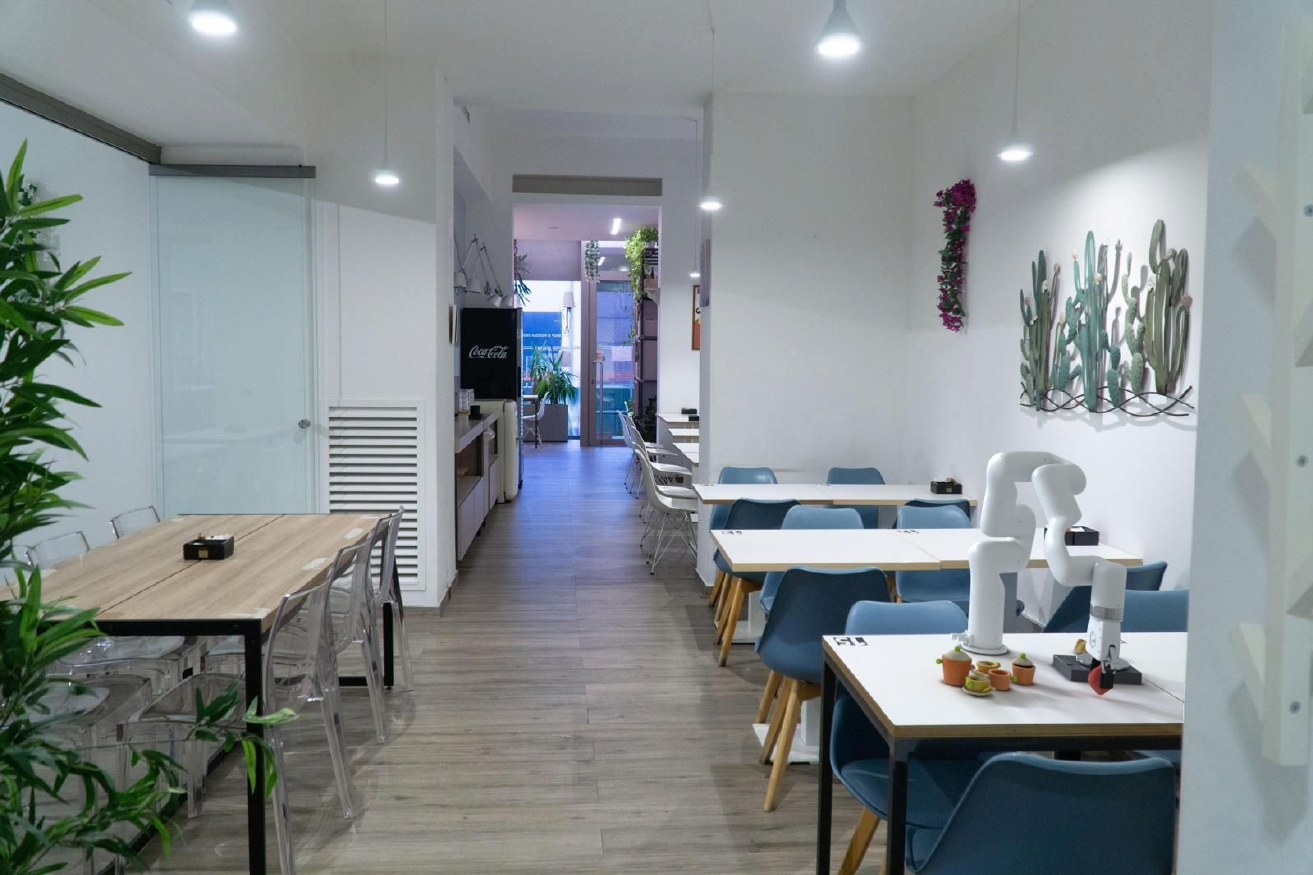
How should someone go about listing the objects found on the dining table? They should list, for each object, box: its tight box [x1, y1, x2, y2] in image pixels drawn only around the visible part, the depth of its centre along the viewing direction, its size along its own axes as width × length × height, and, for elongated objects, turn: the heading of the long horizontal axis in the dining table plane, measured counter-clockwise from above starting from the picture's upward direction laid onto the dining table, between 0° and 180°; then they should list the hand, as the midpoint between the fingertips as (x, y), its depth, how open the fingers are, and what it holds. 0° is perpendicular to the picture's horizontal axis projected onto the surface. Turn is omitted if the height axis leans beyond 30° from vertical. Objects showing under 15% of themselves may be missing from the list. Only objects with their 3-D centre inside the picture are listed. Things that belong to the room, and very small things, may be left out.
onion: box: [1088, 664, 1112, 696], centre depth 245 cm, size 6×6×8 cm
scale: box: [1052, 654, 1143, 685], centre depth 265 cm, size 18×14×3 cm
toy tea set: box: [935, 645, 1037, 697], centre depth 253 cm, size 26×16×10 cm, turn 122°
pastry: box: [1073, 638, 1088, 655], centre depth 283 cm, size 9×7×4 cm
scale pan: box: [1075, 653, 1130, 670], centre depth 264 cm, size 13×13×1 cm
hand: (1100, 683), depth 245 cm, fingers closed on onion, 6 cm apart
